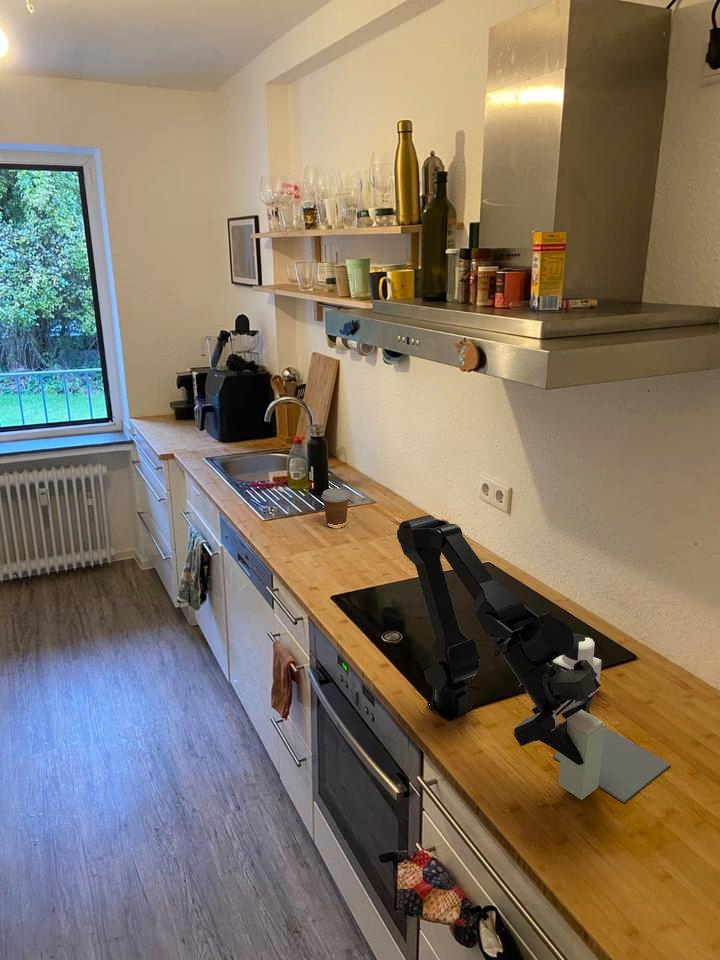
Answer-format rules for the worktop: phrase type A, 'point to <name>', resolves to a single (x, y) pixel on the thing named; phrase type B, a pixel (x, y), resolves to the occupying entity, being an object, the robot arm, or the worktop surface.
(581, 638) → the medicine bottle
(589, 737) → the tea tin
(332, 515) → the disposable coffee cup
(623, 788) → the plate
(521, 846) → the worktop surface
